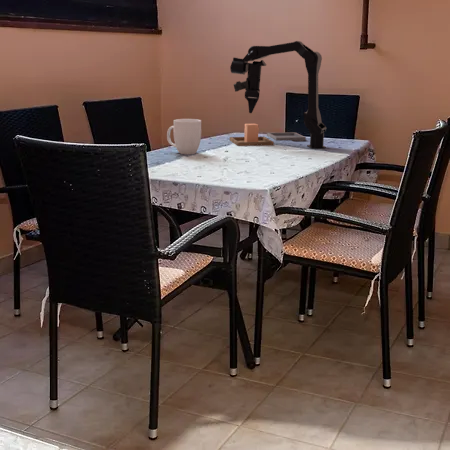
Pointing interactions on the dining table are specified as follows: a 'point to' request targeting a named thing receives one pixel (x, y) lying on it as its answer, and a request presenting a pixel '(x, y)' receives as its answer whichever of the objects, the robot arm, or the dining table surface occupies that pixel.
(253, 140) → the block
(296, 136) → the tray
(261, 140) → the dish
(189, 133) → the mug
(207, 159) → the dining table surface
